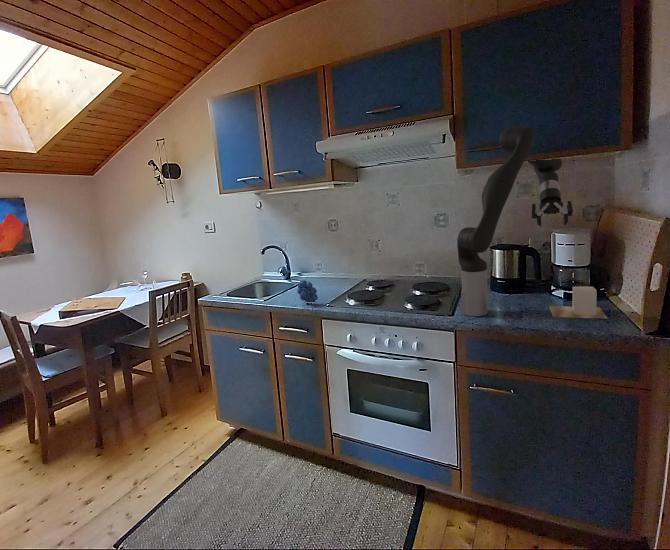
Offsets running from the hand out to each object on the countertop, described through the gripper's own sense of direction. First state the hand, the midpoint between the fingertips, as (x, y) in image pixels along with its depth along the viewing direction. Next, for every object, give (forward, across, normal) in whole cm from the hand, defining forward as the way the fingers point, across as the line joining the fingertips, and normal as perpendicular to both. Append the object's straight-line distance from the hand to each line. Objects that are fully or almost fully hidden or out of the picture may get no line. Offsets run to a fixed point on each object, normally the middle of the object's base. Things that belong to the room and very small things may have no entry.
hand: (552, 224), depth 151 cm
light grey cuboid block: (+34, +8, +8) cm, 36 cm away
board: (+35, +6, +8) cm, 37 cm away
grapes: (+33, -105, +11) cm, 110 cm away
